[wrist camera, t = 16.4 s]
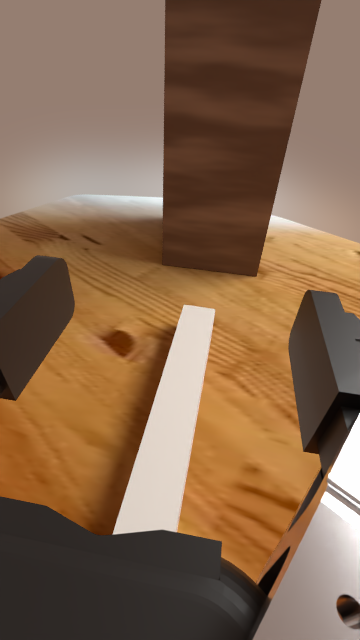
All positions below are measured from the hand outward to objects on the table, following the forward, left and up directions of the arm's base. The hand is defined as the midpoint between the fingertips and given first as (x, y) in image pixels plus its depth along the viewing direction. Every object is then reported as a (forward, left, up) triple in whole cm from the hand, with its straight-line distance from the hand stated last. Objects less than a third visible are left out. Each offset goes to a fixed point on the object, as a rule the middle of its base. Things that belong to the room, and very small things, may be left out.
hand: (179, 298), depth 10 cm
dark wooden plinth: (-15, +32, -15) cm, 38 cm away
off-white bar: (-2, +3, -15) cm, 16 cm away
